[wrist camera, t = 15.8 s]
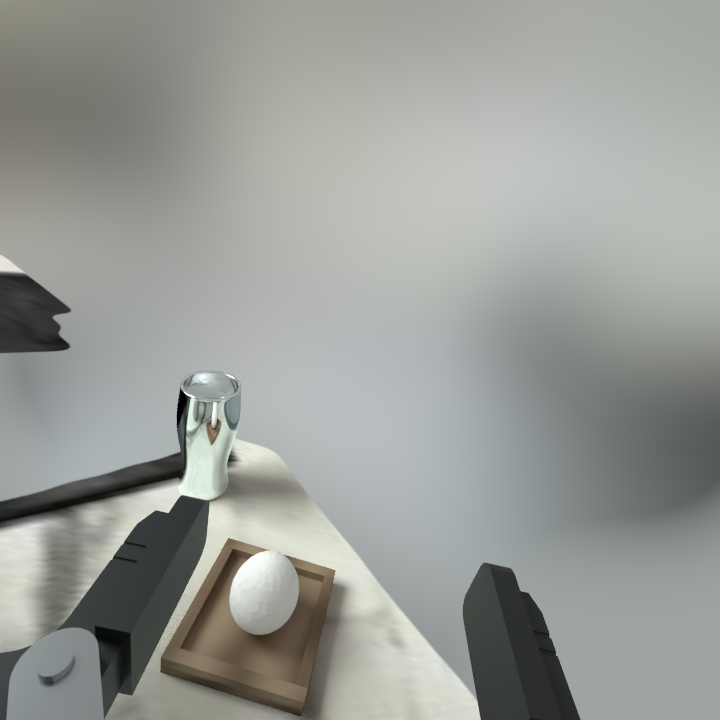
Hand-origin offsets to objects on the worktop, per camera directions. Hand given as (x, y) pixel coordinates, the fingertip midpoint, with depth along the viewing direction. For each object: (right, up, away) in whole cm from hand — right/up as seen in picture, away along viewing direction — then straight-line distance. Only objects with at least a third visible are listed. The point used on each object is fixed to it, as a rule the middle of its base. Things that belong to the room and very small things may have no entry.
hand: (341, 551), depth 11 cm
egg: (-9, -19, +26) cm, 33 cm away
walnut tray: (-9, -19, +26) cm, 34 cm away
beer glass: (-20, -11, +40) cm, 46 cm away
